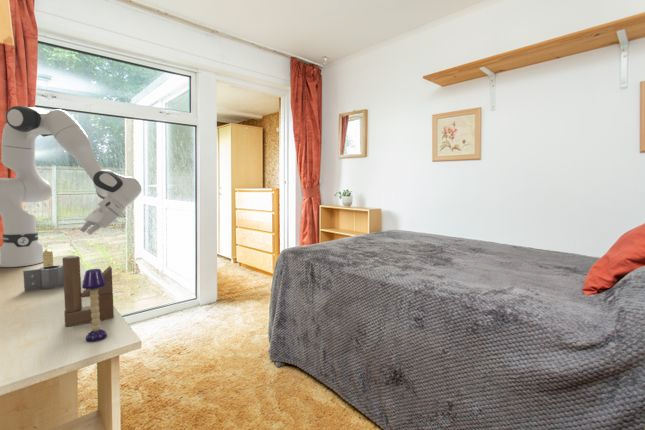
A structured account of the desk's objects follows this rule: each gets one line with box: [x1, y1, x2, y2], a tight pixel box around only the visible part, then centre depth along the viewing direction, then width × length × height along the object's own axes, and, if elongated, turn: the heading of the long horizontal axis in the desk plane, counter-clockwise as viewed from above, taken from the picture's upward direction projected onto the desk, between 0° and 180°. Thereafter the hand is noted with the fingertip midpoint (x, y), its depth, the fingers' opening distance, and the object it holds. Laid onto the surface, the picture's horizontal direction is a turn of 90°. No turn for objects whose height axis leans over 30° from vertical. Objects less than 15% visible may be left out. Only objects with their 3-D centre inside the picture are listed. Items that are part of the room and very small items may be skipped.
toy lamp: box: [81, 268, 108, 343], centre depth 80 cm, size 5×5×17 cm
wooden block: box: [62, 255, 115, 327], centre depth 90 cm, size 4×11×18 cm, turn 128°
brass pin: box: [42, 249, 54, 267], centre depth 131 cm, size 3×3×11 cm
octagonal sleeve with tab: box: [22, 264, 64, 292], centre depth 120 cm, size 6×15×7 cm, turn 139°
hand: (84, 232), depth 139 cm, fingers open, 8 cm apart
